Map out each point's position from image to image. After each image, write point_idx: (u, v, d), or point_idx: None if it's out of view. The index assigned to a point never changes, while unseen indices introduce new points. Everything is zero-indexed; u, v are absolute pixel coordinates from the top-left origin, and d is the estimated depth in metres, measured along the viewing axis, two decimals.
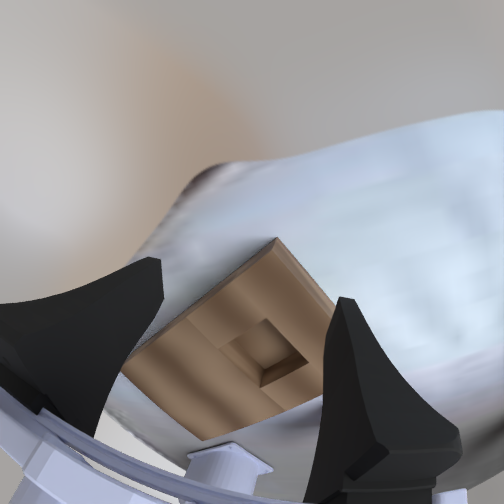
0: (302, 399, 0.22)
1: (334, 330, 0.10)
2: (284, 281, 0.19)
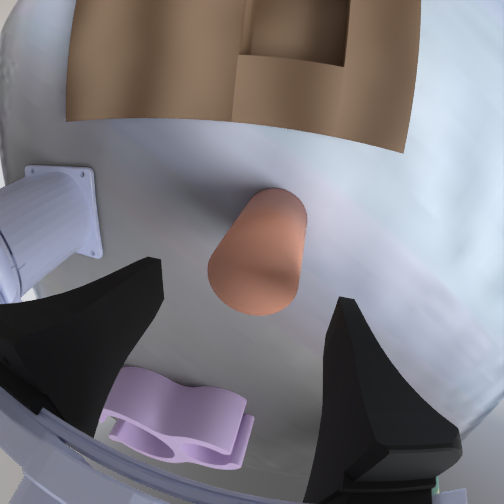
0: (275, 117, 0.13)
1: (334, 330, 0.10)
2: None
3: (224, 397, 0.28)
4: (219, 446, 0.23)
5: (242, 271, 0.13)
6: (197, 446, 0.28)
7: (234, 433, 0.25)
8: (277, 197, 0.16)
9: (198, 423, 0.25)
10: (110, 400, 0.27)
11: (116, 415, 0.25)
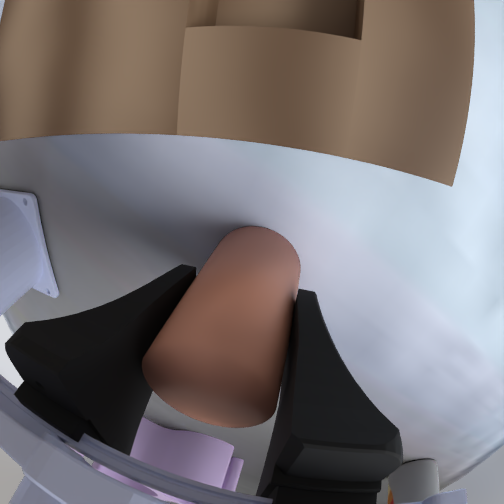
0: (244, 125, 0.08)
1: (292, 322, 0.10)
2: None
3: (208, 445, 0.23)
4: None
5: (189, 382, 0.07)
6: None
7: (219, 484, 0.20)
8: (255, 245, 0.11)
9: (179, 473, 0.20)
10: None
11: None
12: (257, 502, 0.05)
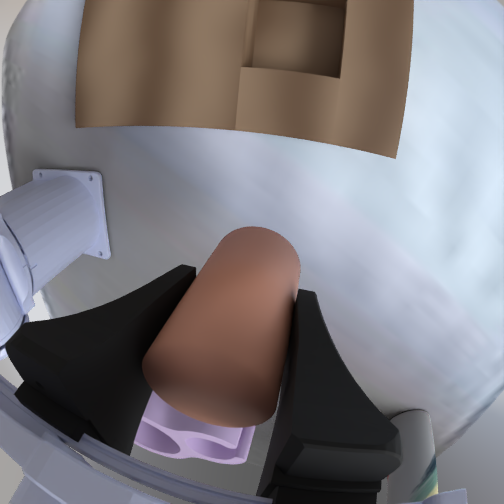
0: (275, 126, 0.14)
1: (292, 322, 0.10)
2: None
3: None
4: (225, 440, 0.24)
5: (189, 382, 0.08)
6: (203, 441, 0.29)
7: None
8: (255, 246, 0.11)
9: None
10: None
11: None
12: (257, 502, 0.05)
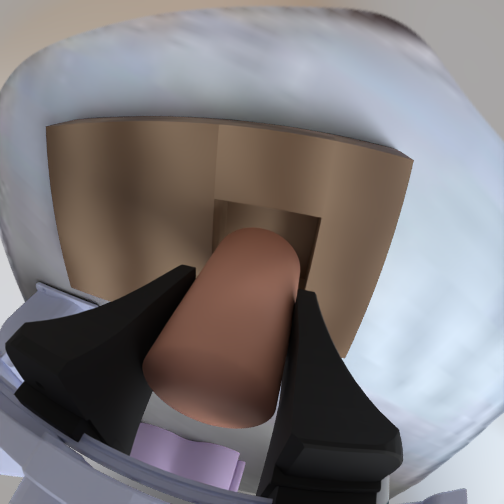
0: None
1: (292, 322, 0.10)
2: (387, 201, 0.12)
3: (222, 452, 0.32)
4: None
5: (189, 384, 0.08)
6: None
7: (229, 479, 0.29)
8: (254, 247, 0.11)
9: (202, 473, 0.29)
10: None
11: None
12: (257, 502, 0.05)
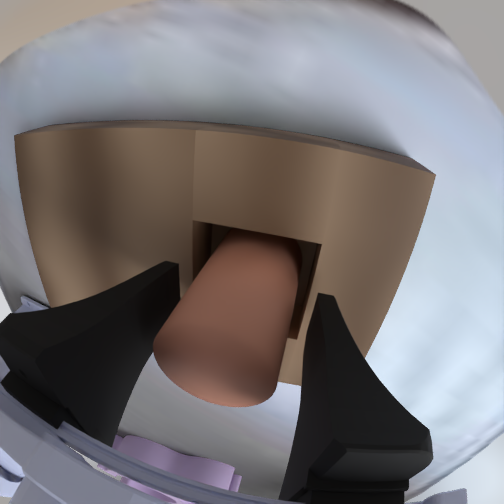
0: None
1: (312, 326, 0.10)
2: (402, 225, 0.10)
3: (216, 467, 0.30)
4: None
5: (197, 361, 0.08)
6: None
7: None
8: (259, 237, 0.12)
9: None
10: None
11: (128, 478, 0.27)
12: None
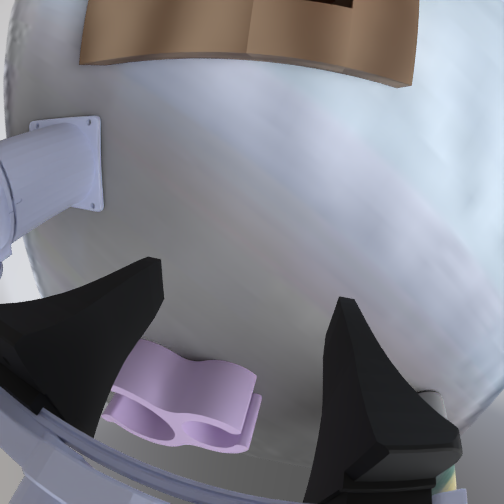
0: (288, 49, 0.12)
1: (334, 330, 0.10)
2: None
3: (234, 371, 0.27)
4: (229, 424, 0.22)
5: None
6: (200, 427, 0.27)
7: (244, 410, 0.24)
8: None
9: (206, 398, 0.24)
10: None
11: (114, 389, 0.24)
12: None
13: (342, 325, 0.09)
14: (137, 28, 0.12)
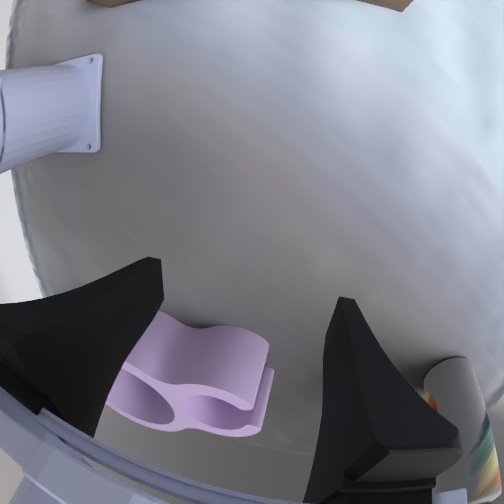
0: None
1: (334, 330, 0.10)
2: None
3: (244, 337, 0.24)
4: (239, 396, 0.20)
5: None
6: (204, 406, 0.24)
7: (256, 381, 0.22)
8: None
9: (212, 366, 0.21)
10: None
11: None
12: None
13: (342, 325, 0.09)
14: None
